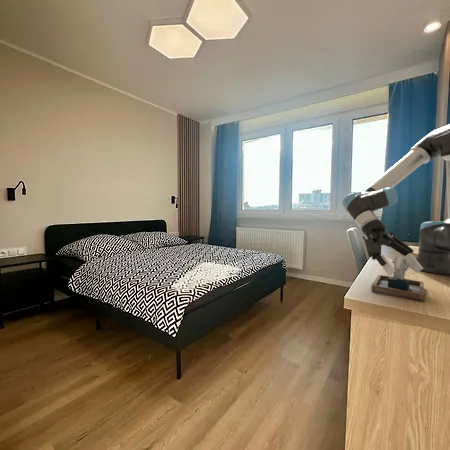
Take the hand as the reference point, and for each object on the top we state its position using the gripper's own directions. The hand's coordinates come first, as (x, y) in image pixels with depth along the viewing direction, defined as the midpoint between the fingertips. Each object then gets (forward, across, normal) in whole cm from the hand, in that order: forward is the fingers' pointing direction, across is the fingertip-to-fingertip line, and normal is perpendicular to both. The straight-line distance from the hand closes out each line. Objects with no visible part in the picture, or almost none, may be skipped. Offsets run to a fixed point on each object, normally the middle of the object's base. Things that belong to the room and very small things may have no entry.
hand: (406, 272), depth 84 cm
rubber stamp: (+3, 0, -6) cm, 7 cm away
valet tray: (+3, 0, -7) cm, 7 cm away
